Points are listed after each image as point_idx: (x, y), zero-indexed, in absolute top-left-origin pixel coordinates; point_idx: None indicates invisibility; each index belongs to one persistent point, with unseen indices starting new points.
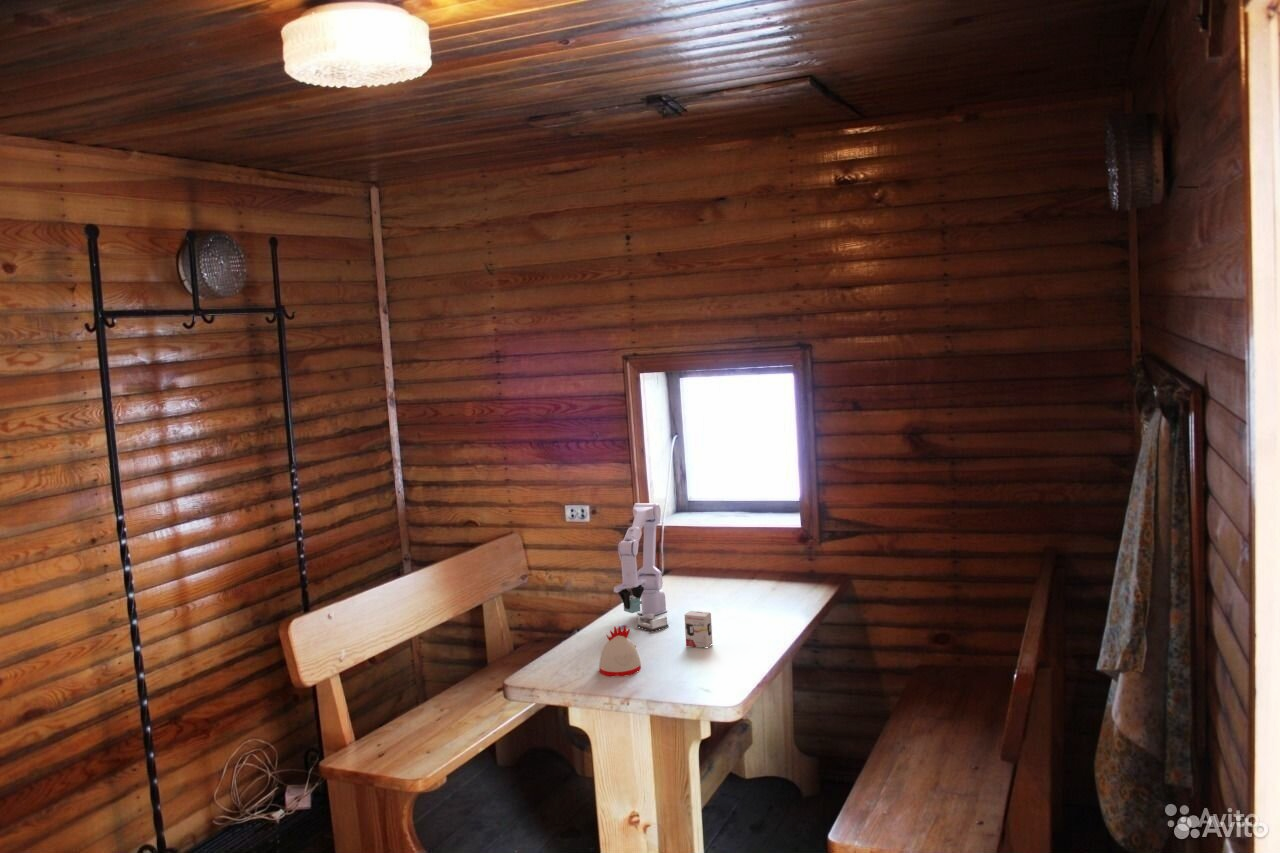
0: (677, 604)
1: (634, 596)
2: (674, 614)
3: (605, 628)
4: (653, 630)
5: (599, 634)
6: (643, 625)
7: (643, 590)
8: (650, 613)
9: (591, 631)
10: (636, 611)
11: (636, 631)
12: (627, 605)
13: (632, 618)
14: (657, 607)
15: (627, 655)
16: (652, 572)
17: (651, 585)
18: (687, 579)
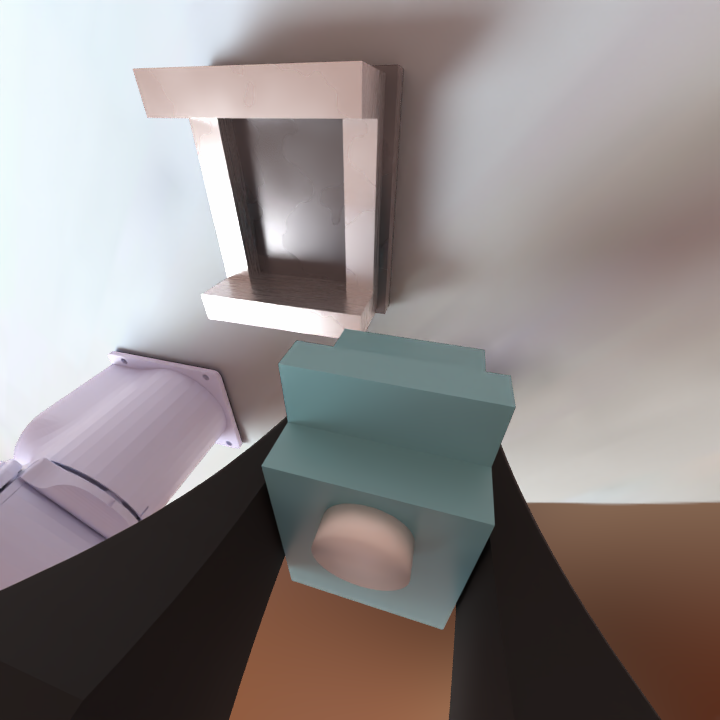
0: (53, 379)
1: (319, 556)
2: (89, 291)
3: (518, 452)
4: (383, 66)
5: (674, 423)
6: (378, 242)
7: (33, 576)
8: (227, 317)
9: (616, 486)
10: (407, 341)
11: (471, 235)
12: (510, 480)
13: None
14: (137, 388)
15: None
16: None
17: (10, 535)
18: None
